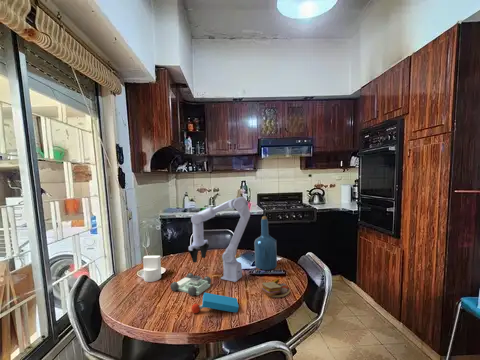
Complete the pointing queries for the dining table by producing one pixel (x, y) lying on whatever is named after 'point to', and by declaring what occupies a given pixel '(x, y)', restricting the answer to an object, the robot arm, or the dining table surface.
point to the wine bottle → (265, 248)
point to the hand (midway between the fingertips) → (199, 259)
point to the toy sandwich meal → (275, 289)
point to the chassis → (186, 287)
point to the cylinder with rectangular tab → (152, 268)
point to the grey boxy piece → (196, 281)
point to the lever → (217, 303)
